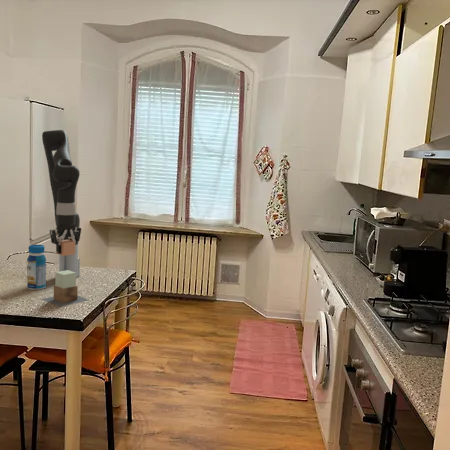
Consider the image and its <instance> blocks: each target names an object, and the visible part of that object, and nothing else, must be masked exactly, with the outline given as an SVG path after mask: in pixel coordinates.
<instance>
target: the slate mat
mask: <svg viewBox="0 0 450 450" xmlns="http://www.w3.org/2000/svg"><path fill="white" fill-rule="evenodd" d="M42 300H43V301H44V302H48V303H50V304H52V305H55V306H57V307H59V308H62V307H65V306H70V305H75V304H79V303H82V302H87V301H89V299H88V298H85V297H83V296H79V295H77V300H74V301H70V302H66V303H62V302H59V301H57V300H54V296H50V297H46V298H42Z"/></svg>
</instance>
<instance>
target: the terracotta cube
mask: <svg viewBox="0 0 450 450" xmlns="http://www.w3.org/2000/svg"><path fill="white" fill-rule="evenodd" d="M55 253H56V255H58V256H59V255H63V256H66V255H73V254H75V241H71V240H63V241H62V243H61V254H58V253H57V252H56V251H55Z"/></svg>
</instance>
